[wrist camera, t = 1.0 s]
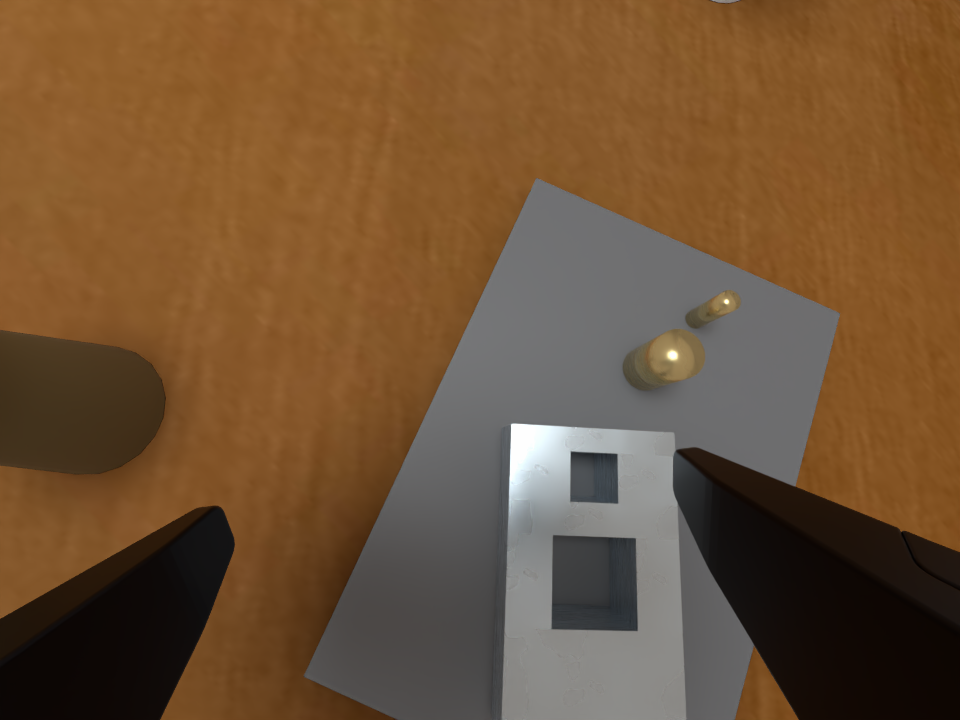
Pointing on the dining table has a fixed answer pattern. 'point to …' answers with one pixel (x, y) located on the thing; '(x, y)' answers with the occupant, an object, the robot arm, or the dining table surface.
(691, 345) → the pair of brass cylinders
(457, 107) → the dining table surface
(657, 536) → the silver rectangular block
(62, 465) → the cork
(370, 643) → the mount board
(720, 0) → the chalice
